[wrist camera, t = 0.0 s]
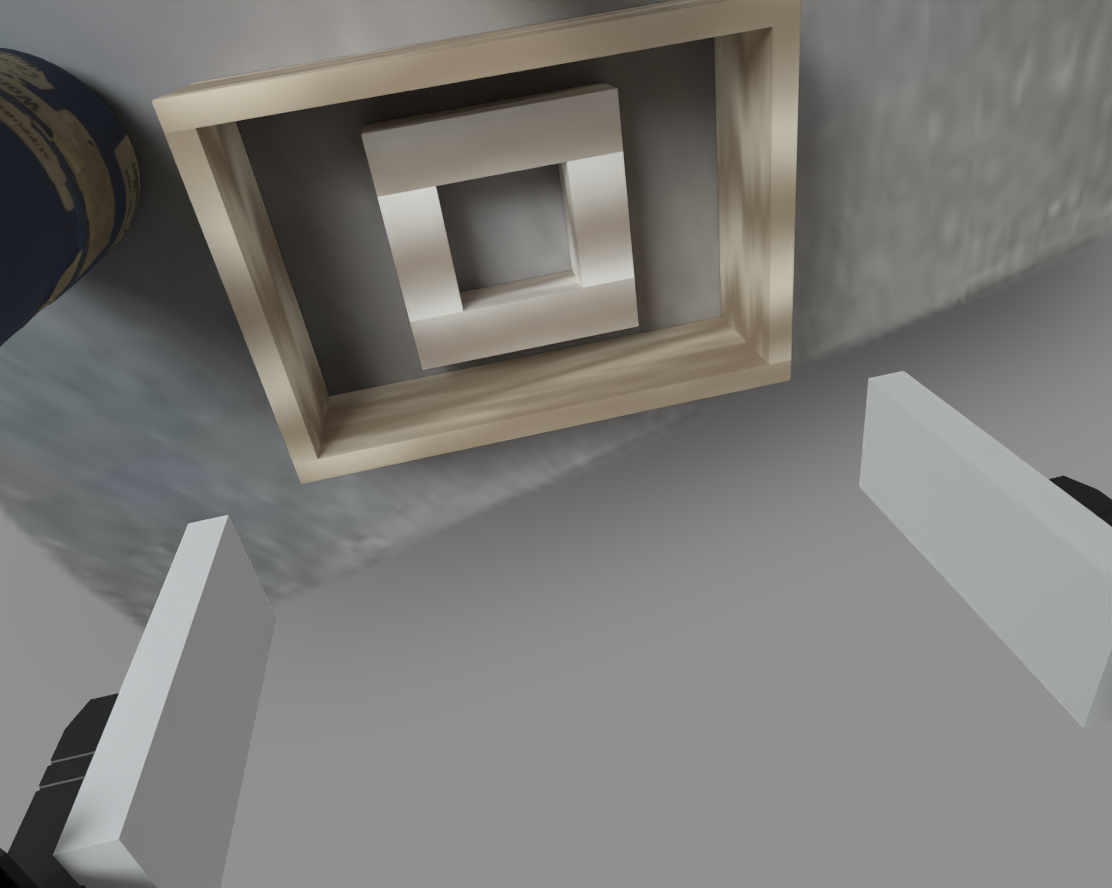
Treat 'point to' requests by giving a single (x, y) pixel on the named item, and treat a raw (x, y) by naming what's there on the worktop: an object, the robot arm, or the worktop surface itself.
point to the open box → (527, 305)
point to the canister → (56, 184)
